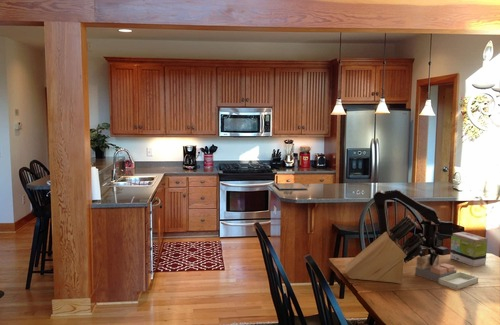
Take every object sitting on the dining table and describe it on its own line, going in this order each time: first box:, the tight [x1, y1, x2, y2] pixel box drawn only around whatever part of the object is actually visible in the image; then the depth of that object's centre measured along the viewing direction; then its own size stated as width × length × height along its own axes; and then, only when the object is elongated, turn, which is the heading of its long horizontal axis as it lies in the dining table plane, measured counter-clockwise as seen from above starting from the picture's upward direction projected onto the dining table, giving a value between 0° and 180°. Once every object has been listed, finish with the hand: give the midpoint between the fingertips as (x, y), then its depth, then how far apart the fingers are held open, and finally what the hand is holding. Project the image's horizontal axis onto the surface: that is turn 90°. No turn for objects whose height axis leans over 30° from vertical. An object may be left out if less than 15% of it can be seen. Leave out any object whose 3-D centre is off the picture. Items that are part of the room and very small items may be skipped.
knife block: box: [344, 215, 426, 284], centre depth 199 cm, size 11×35×31 cm, turn 78°
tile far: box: [439, 263, 456, 272], centre depth 204 cm, size 5×5×2 cm
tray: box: [437, 271, 479, 291], centre depth 196 cm, size 18×9×2 cm, turn 123°
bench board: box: [414, 264, 457, 283], centre depth 205 cm, size 14×13×4 cm
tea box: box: [449, 231, 488, 268], centre depth 228 cm, size 15×10×15 cm, turn 25°
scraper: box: [415, 254, 440, 269], centre depth 209 cm, size 14×3×5 cm, turn 123°
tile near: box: [431, 266, 446, 274], centre depth 200 cm, size 5×5×2 cm
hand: (427, 264), depth 209 cm, fingers open, 4 cm apart
